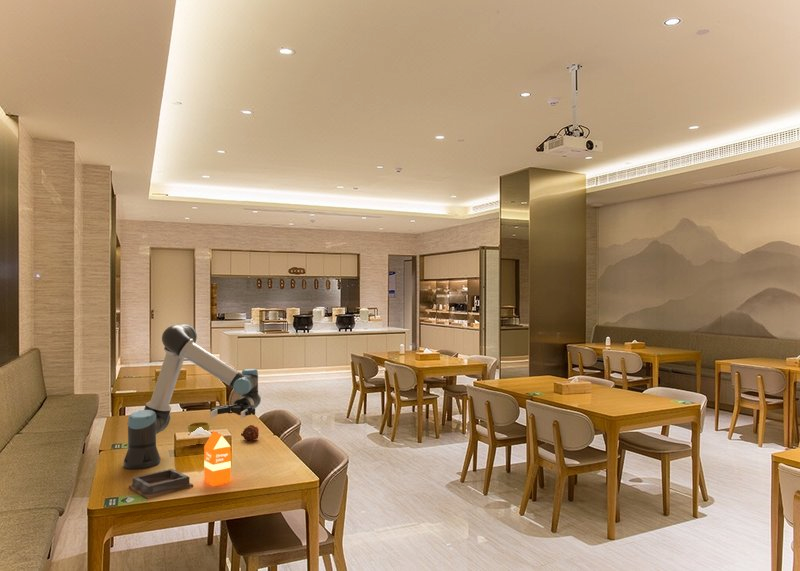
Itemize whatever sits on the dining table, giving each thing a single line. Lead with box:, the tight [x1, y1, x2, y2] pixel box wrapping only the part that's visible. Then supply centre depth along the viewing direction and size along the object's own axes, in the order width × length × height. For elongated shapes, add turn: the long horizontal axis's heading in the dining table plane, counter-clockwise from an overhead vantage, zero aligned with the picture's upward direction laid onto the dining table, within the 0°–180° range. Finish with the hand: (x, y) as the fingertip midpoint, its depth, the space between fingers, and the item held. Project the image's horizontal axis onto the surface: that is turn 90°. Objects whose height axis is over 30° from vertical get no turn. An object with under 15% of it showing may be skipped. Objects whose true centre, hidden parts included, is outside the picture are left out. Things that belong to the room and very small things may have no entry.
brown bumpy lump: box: [240, 424, 260, 442], centre depth 302 cm, size 8×8×12 cm
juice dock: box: [128, 468, 194, 499], centre depth 228 cm, size 18×18×4 cm
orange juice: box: [203, 430, 232, 487], centre depth 235 cm, size 8×9×20 cm
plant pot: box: [187, 421, 210, 434], centre depth 297 cm, size 10×10×10 cm
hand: (226, 415), depth 245 cm, fingers open, 13 cm apart
